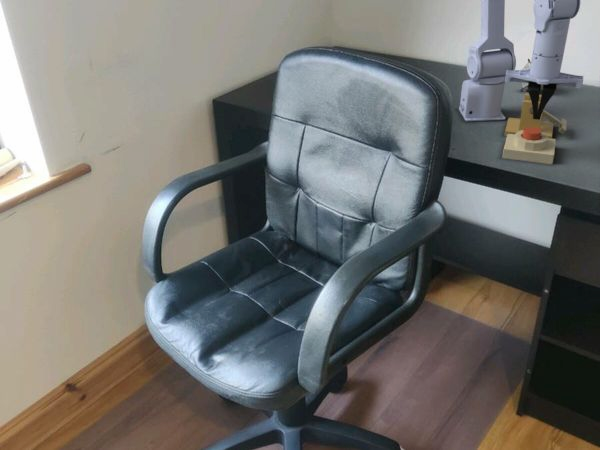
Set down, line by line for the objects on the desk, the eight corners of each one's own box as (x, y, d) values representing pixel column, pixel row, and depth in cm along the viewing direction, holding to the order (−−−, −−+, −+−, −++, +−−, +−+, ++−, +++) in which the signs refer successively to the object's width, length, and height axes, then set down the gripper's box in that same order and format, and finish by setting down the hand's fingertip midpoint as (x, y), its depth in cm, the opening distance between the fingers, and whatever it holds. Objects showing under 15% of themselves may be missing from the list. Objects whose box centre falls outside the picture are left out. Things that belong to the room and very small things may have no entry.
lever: (561, 126, 141) (569, 118, 139) (560, 136, 137) (568, 128, 135) (525, 102, 141) (532, 93, 139) (523, 111, 137) (530, 102, 135)
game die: (535, 103, 164) (564, 73, 160) (529, 102, 157) (559, 71, 153) (511, 81, 167) (539, 51, 162) (503, 79, 160) (532, 48, 155)
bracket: (552, 127, 143) (559, 94, 139) (551, 141, 137) (557, 107, 132) (508, 122, 146) (512, 89, 142) (504, 135, 140) (509, 102, 136)
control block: (554, 148, 134) (557, 131, 132) (552, 164, 128) (555, 147, 125) (506, 142, 137) (508, 125, 135) (502, 158, 131) (504, 141, 129)
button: (540, 135, 131) (542, 127, 130) (539, 142, 128) (541, 134, 127) (522, 133, 132) (524, 125, 131) (521, 140, 130) (522, 132, 129)
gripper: (507, 56, 120) (498, 121, 128) (588, 62, 115) (573, 129, 123) (511, 45, 126) (502, 108, 133) (588, 50, 121) (574, 115, 128)
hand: (536, 117), depth 128 cm, fingers closed
